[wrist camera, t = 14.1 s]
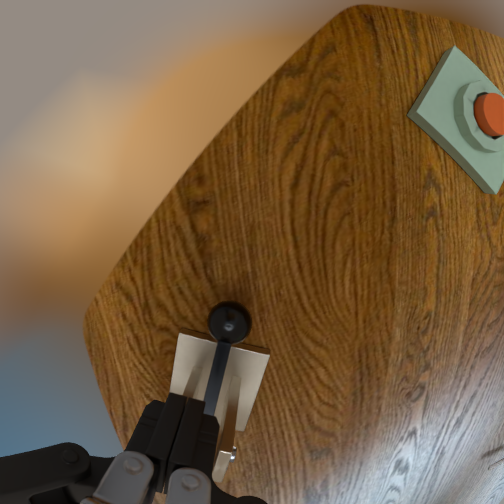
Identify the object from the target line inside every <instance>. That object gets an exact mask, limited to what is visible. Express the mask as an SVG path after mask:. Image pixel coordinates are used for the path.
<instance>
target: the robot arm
mask: <svg viewBox="0 0 504 504" xmlns="http://www.w3.org/2000/svg"><path fill="white" fill-rule="evenodd" d="M186 403H187V404H186ZM205 404H206V401H202V400H198V399H194V398H191V397H189V398H188V401H187V396H183V395H180V394H176V393H173V392H170V393H169V395H168V398H167V400H166V403H164V402H161V401H157V400H153V401H152V402H151V403H149V404H148V405H146V407H145V409H144V411H143V413H142V416H141V417H140V419H139V422H138V424H137V426H136V428H135V430H134V432H133V434H132V436H131V439H130V441H129V443H128V445H127V447H126V449H125V450H124V452H122V453H120V454H118V455H117V456H115V457H111V458H103V457H95V456H89V454H88V452H87V451H86V450H85V449H84V448H83V447H81V446H80V445H78V444H75V443H69V442H68V443H61V444H57V445H53V446H49V447H45V448H41V449H37V450H33V451H29V452H24V453H19V454H15V455H10V456H5V457H0V504H152V502H153V499H154V496H155V492H160V493H162V491H163V487H164V484H165V487H164V494H167V496H166V502H165V504H267V503H266V502H265V501H264V500H262V499H260V498H258V497H254V496H242V497H239V498H236V497H234V496H232V495H229V494H227V493H225V492H223V491H222V490H221V489H219V488H218V487H217V486H216V484H215V483H214V481H213V478H212V470H213V464H214V458H215V452H216V446H217V440H218V434H219V428H220V425H219V423H218V420H217V418H216V416H212V415H208V414H204V409H205Z"/></svg>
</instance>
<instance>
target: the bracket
mask: <svg viewBox="0 0 504 504" xmlns="http://www.w3.org/2000/svg"><path fill="white" fill-rule="evenodd" d="M217 343H218V341H216V340H215V339H214V338H213V337H212V336H211V335H207V334H203V333H200V332H196V331H192V330H189V329H185V328H181V330H180V332H179V336H178V342H177V348H176V354H175V360H174V366H173V373H172V379H171V386H170V392H173V393H176V394H180V395H183V396H187V401H188V398H189V397H191V398H194V399H198V400H202V401H203V400H204V395H205V391H206V387H207V383H208V379H209V375H210V371H211V367H212V363H213V359H214V355H215V351H216V347H217ZM269 356H270V350H269V349H265V348H260V347H256V346H252V345H247V344H243V343H238V344H234V345H231V349H230V353H229V357H228V361H227V365H226V369H225V373H224V377H223V381H222V385H221V389H220V393H219V397H218V401H217V405H216V409H215V413H214V416H216V418H217V420H218V423H219V425H220V429H219V434H218V440H217V446H216V452H215V458H214V464H213V470H212V478H213V481H217V482H222V480H223V477H224V475H225V472H226V469H227V467H228V464H229V462H234V459H235V456H236V450H237V448H236V447H233V444H234V436H235V430H239V431H244V430H245V427H246V424H247V421H248V418H249V416H250V413H251V410H252V407H253V404H254V401H255V398H256V395H257V392H258V390H259V387H260V384H261V381H262V378H263V375H264V372H265V369H266V366H267V363H268V359H269ZM186 404H187V403H186Z"/></svg>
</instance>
